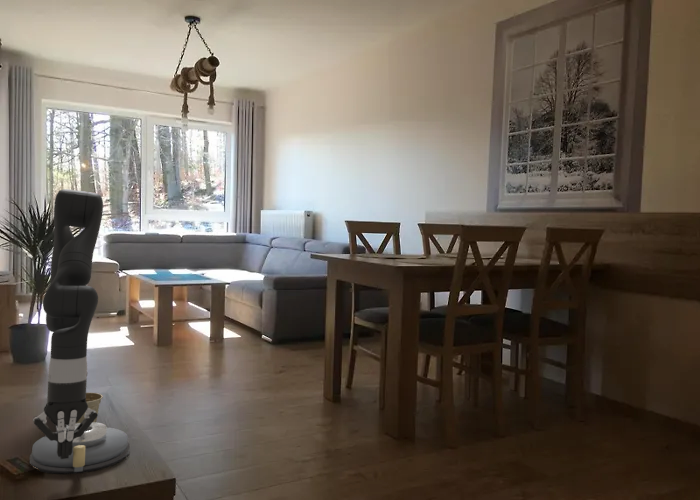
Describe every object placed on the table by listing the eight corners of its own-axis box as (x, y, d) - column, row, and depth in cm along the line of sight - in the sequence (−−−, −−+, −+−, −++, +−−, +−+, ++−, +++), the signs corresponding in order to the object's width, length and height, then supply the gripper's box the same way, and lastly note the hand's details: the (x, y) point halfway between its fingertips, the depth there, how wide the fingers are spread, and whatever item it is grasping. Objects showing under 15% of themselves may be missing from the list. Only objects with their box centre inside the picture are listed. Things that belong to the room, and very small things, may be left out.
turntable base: (25, 448, 142) (25, 443, 142) (119, 433, 154) (119, 429, 154) (34, 481, 124) (34, 476, 124) (139, 462, 136) (139, 457, 136)
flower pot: (87, 435, 152) (88, 403, 152) (56, 432, 154) (57, 400, 154) (108, 424, 161) (109, 394, 161) (79, 421, 163) (80, 391, 163)
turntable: (21, 446, 140) (22, 422, 140) (109, 428, 154) (109, 406, 154) (53, 482, 121) (54, 454, 121) (149, 458, 135) (150, 433, 135)
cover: (55, 439, 139) (55, 427, 139) (97, 431, 146) (97, 419, 146) (69, 452, 132) (69, 438, 132) (112, 442, 139) (113, 429, 139)
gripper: (97, 371, 130) (94, 447, 130) (31, 376, 123) (27, 456, 123) (103, 378, 124) (100, 458, 124) (34, 384, 117) (30, 468, 117)
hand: (64, 457), depth 124 cm, fingers closed
